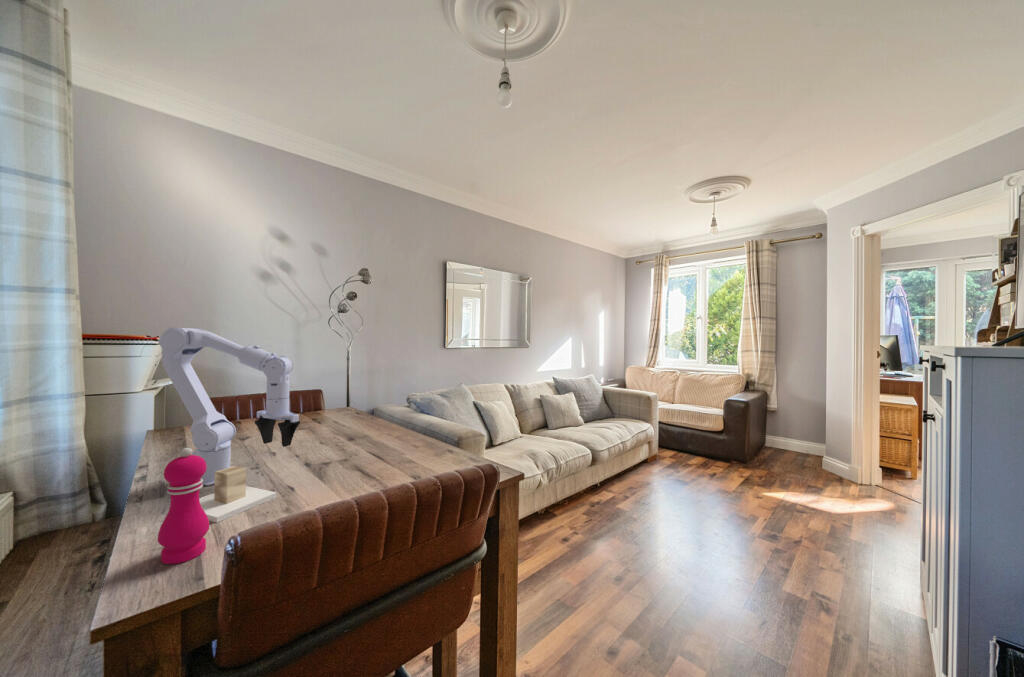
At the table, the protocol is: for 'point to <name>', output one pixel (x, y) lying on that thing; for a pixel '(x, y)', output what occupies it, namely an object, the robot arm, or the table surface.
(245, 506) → the white board
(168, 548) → the pepper mill
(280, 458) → the table surface
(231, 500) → the birch block
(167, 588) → the table surface
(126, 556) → the table surface
